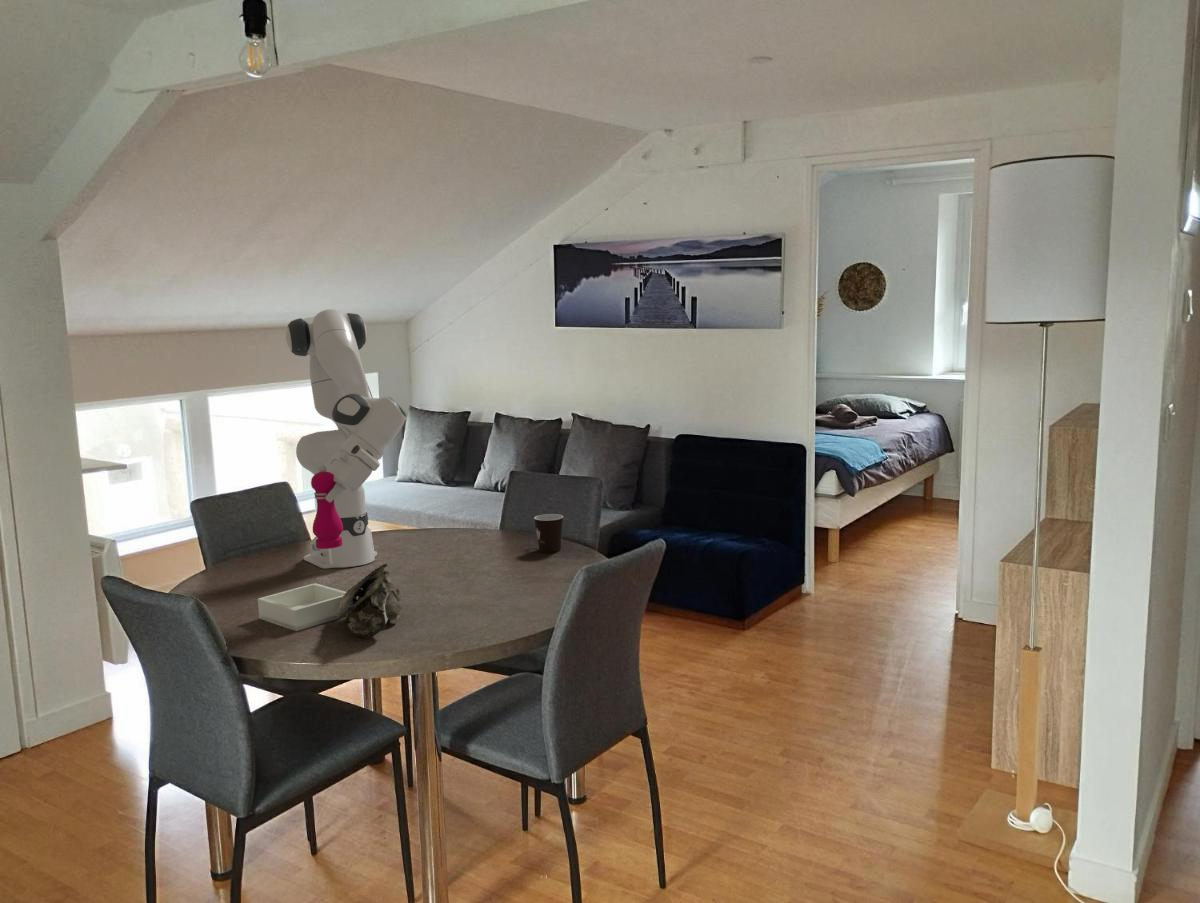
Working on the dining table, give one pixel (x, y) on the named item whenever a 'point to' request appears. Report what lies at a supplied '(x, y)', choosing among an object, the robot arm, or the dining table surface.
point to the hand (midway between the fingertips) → (322, 498)
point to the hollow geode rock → (371, 604)
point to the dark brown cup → (549, 532)
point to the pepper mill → (325, 512)
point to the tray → (301, 606)
